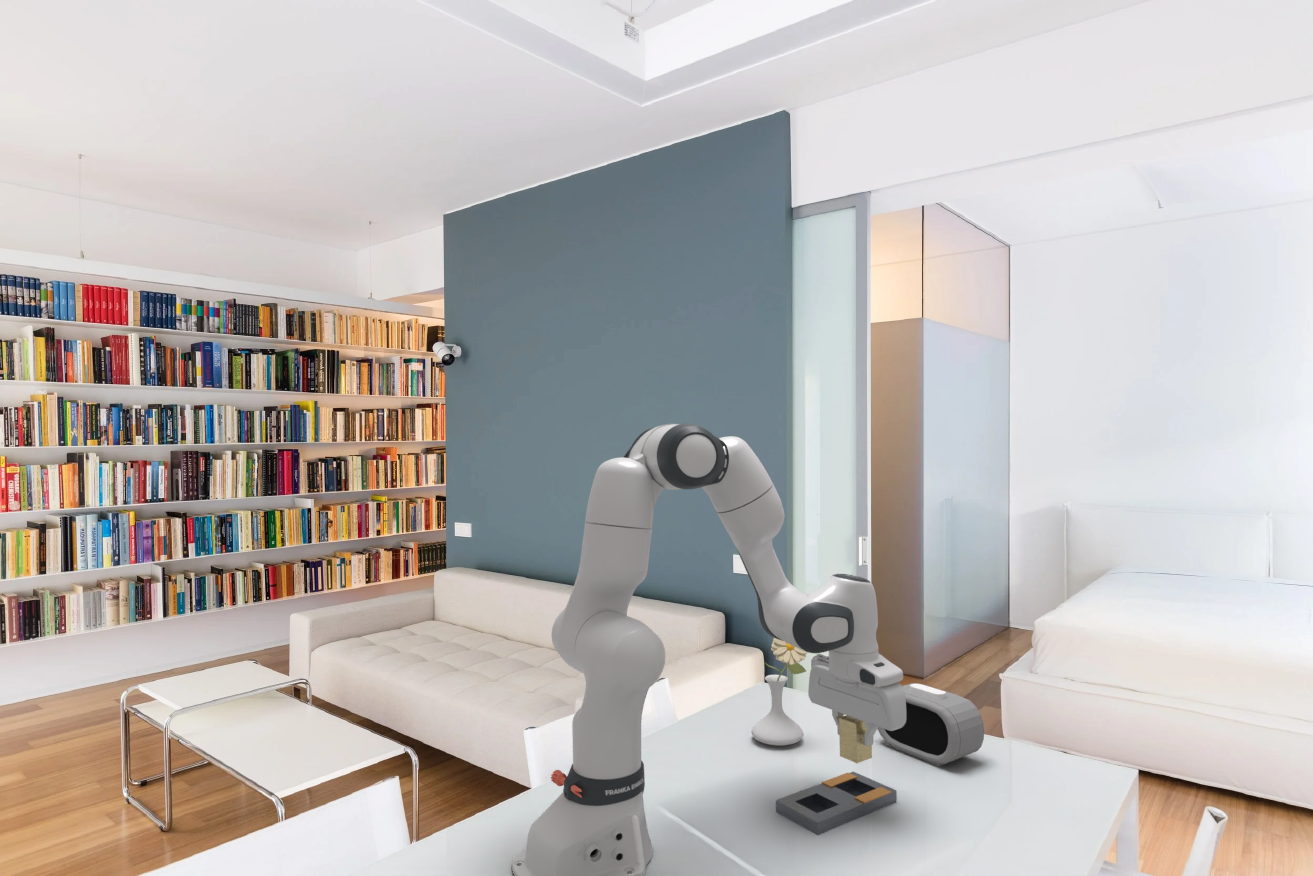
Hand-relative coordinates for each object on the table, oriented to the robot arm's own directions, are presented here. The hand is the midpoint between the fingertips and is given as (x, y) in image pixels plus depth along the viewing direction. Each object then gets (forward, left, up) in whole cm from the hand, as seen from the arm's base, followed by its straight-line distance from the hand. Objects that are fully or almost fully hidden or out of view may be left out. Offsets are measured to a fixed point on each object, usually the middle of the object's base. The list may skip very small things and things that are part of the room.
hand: (855, 740), depth 140 cm
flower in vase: (+10, +30, -12) cm, 34 cm away
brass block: (0, 0, -3) cm, 3 cm away
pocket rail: (-5, 0, -12) cm, 13 cm away
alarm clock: (+30, +7, -12) cm, 33 cm away
